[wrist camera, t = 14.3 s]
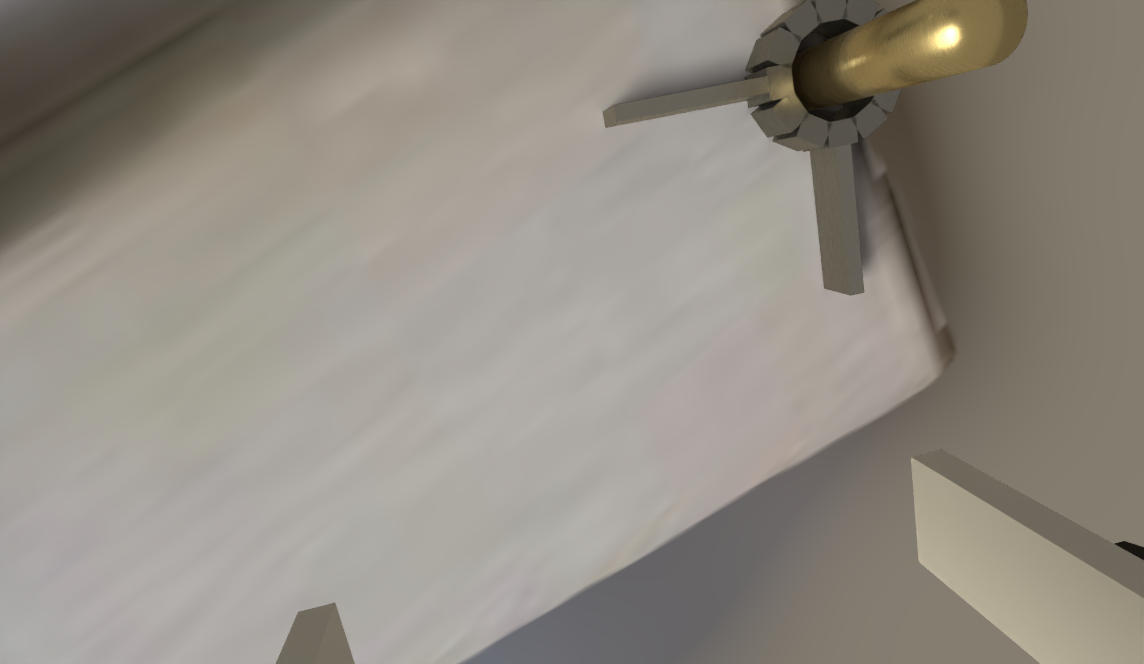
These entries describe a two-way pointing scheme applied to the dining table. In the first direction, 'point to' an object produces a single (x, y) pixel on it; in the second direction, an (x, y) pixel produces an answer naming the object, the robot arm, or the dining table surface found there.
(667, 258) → the dining table surface
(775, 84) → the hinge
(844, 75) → the pin
